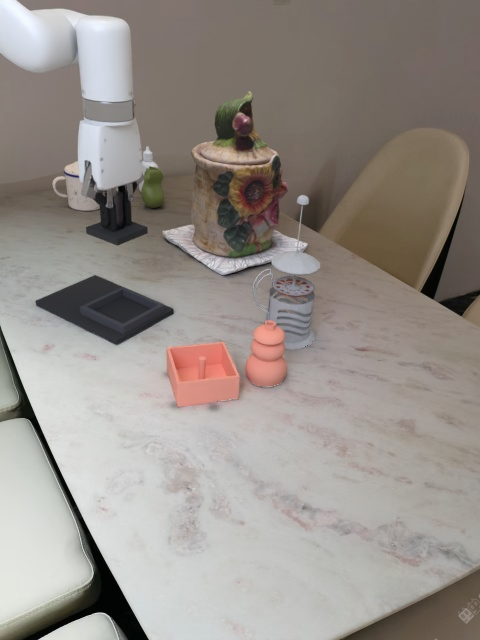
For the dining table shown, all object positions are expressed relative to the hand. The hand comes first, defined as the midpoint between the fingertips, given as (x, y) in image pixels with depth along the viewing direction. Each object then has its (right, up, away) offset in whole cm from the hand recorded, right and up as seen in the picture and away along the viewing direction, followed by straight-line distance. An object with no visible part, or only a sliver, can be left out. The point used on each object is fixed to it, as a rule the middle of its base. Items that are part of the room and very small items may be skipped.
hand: (116, 224), depth 100 cm
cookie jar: (+18, +3, +35) cm, 39 cm away
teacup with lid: (-21, +15, +47) cm, 54 cm away
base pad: (-4, -14, +7) cm, 16 cm away
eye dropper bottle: (-6, +22, +59) cm, 63 cm away
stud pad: (0, -1, +1) cm, 2 cm away
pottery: (+20, -26, -8) cm, 34 cm away
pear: (-4, +16, +50) cm, 53 cm away
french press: (+28, -18, +4) cm, 34 cm away
